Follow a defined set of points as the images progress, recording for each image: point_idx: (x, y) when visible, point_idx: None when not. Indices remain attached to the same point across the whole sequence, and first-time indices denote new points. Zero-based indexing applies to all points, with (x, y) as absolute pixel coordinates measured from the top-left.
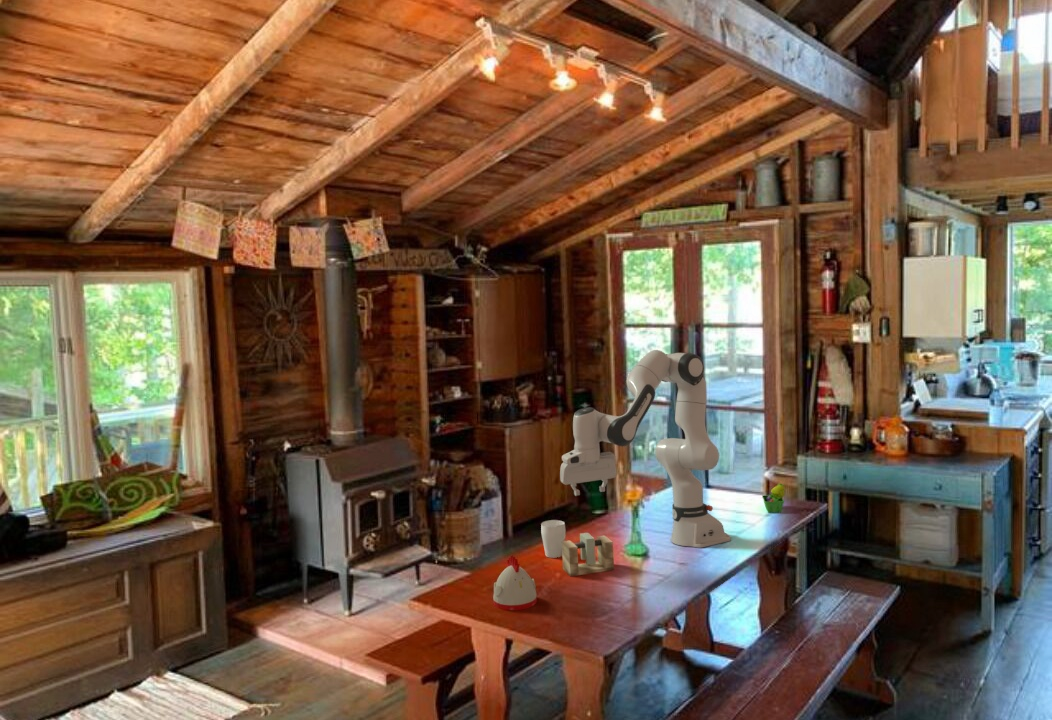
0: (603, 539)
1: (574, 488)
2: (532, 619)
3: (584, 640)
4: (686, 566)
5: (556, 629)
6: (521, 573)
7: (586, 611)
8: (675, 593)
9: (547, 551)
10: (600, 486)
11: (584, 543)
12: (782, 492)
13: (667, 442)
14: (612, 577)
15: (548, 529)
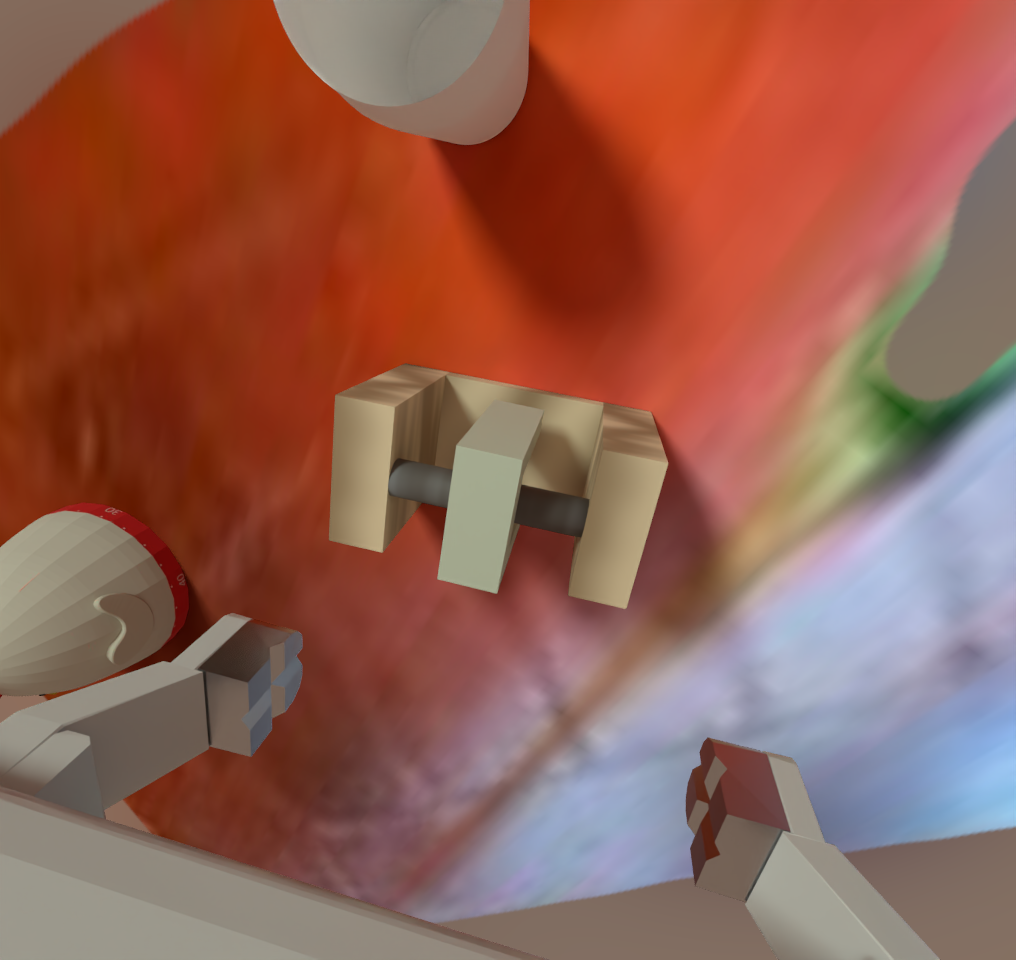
0: (603, 536)
1: (111, 782)
2: None
3: None
4: (944, 694)
5: (190, 806)
6: (22, 695)
7: (309, 773)
8: (651, 845)
9: (393, 91)
10: (735, 841)
11: None
12: None
13: None
14: (553, 598)
15: (317, 71)
